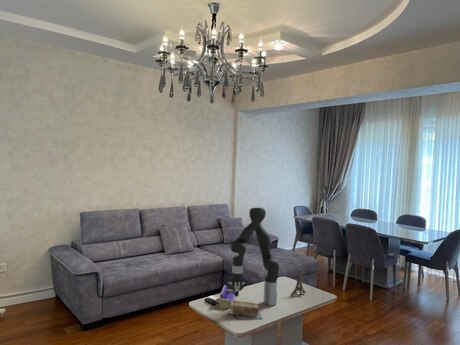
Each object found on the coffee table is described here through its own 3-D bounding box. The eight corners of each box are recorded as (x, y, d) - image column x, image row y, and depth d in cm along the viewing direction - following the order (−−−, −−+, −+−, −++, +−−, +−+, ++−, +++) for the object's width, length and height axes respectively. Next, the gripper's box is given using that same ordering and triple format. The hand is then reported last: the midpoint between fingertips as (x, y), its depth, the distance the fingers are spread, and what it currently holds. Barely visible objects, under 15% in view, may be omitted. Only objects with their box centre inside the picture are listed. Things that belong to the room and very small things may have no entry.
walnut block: (230, 308, 243) (255, 311, 244) (231, 313, 235) (257, 316, 236) (231, 300, 243) (256, 303, 244) (232, 305, 235) (258, 307, 236)
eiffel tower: (290, 294, 282) (291, 264, 282) (295, 291, 291) (296, 261, 291) (302, 297, 277) (304, 266, 276) (307, 294, 286) (308, 264, 285)
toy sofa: (230, 309, 248) (231, 295, 248) (218, 308, 249) (219, 294, 249) (234, 298, 269) (235, 285, 268) (223, 297, 270) (224, 284, 270)
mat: (258, 310, 248) (258, 308, 248) (262, 319, 234) (262, 316, 234) (234, 310, 246) (234, 307, 246) (237, 319, 232) (237, 316, 232)
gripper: (246, 270, 243) (245, 294, 243) (227, 269, 241) (226, 294, 242) (247, 273, 235) (246, 298, 236) (228, 273, 234) (227, 298, 234)
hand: (236, 296), depth 239 cm, fingers closed
